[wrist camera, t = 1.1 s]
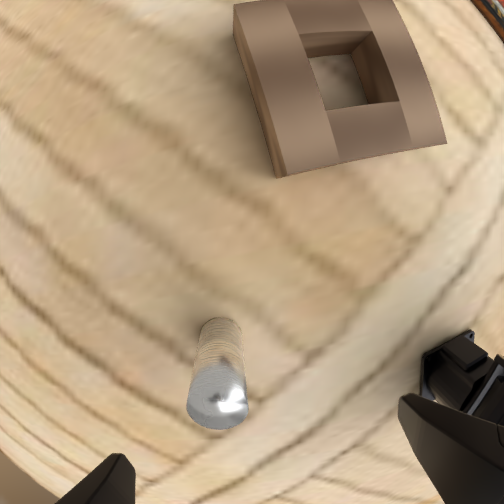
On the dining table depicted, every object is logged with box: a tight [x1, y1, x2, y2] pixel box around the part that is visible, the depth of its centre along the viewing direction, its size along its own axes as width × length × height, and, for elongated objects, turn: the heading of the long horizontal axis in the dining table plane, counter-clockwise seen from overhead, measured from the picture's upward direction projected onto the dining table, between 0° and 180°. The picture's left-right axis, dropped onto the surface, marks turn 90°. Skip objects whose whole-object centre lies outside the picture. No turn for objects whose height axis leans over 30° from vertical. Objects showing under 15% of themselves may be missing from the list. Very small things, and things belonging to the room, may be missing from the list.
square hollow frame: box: [233, 0, 447, 178], centre depth 16 cm, size 11×11×4 cm
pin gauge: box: [187, 318, 248, 430], centre depth 17 cm, size 3×3×8 cm
